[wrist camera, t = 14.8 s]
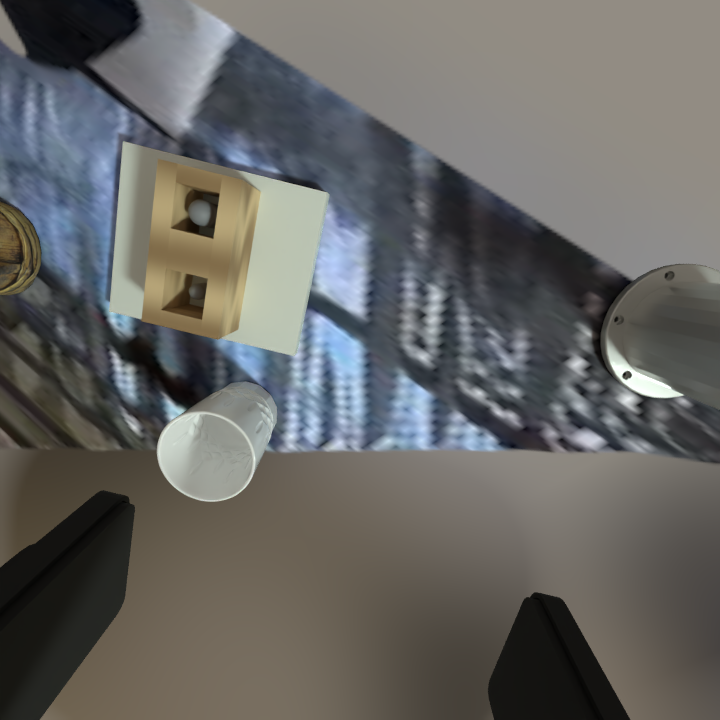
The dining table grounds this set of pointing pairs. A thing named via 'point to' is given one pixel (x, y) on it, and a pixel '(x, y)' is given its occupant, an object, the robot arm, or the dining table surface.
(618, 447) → the dining table surface
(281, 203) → the post board
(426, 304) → the dining table surface
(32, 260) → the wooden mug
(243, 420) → the white cup
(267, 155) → the dining table surface
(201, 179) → the tan hollow block
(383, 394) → the dining table surface
